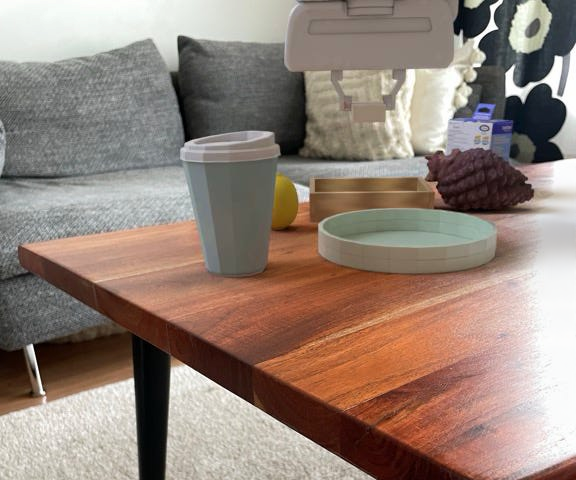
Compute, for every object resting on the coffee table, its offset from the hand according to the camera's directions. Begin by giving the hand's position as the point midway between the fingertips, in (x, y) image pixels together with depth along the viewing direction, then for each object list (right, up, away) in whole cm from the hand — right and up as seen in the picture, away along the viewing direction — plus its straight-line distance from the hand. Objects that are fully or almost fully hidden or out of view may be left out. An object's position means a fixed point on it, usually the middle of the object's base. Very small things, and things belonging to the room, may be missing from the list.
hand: (366, 110), depth 89 cm
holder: (+2, -8, +20) cm, 22 cm away
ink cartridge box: (+22, -2, +34) cm, 40 cm away
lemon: (-11, -13, +10) cm, 20 cm away
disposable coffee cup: (-16, -21, -8) cm, 28 cm away
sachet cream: (0, -1, 0) cm, 1 cm away
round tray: (+5, -18, -1) cm, 19 cm away
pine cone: (+19, -7, +23) cm, 31 cm away
